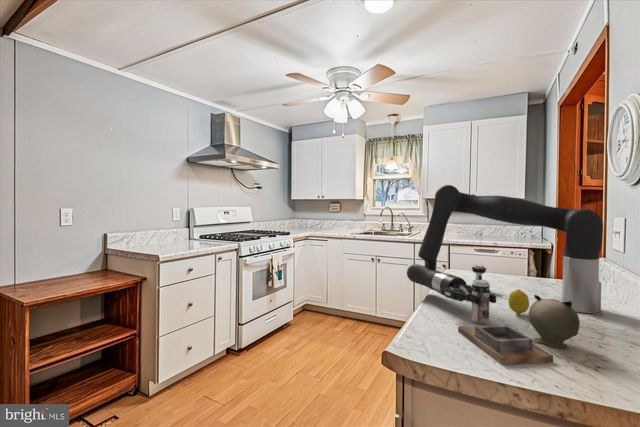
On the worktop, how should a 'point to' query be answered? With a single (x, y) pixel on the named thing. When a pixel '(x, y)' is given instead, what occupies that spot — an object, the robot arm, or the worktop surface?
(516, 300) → the lemon
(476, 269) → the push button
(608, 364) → the worktop surface
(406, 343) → the worktop surface
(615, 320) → the worktop surface
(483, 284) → the beer can
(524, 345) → the walnut dock
